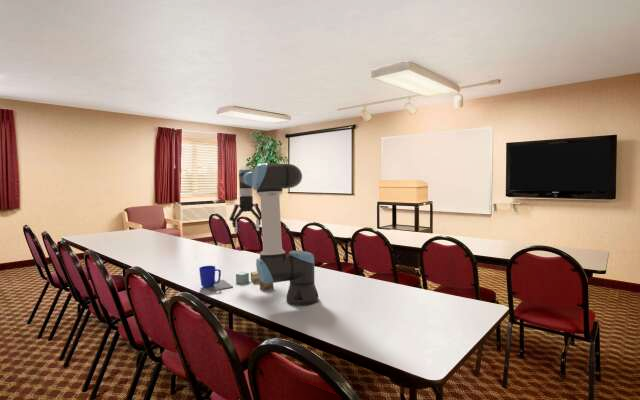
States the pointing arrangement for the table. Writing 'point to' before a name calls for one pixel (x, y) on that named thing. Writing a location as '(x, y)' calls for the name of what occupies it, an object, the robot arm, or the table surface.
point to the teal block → (242, 277)
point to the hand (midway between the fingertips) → (247, 231)
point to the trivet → (219, 286)
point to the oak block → (255, 277)
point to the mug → (208, 275)
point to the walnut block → (266, 286)
